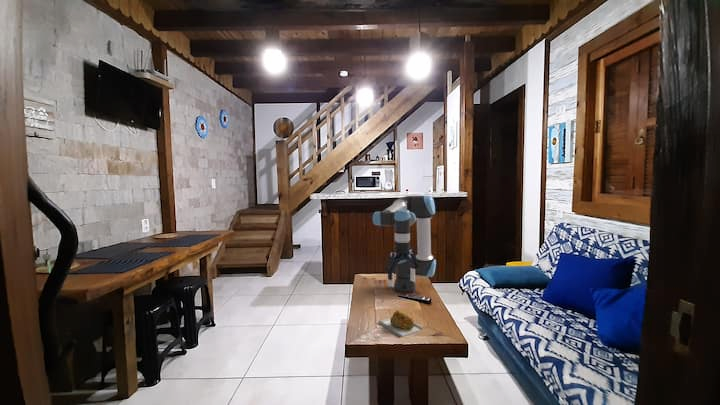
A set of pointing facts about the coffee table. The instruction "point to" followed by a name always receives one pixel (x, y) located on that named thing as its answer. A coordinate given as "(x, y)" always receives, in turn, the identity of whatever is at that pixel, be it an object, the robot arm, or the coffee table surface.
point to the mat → (399, 330)
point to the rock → (401, 320)
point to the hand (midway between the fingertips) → (402, 283)
